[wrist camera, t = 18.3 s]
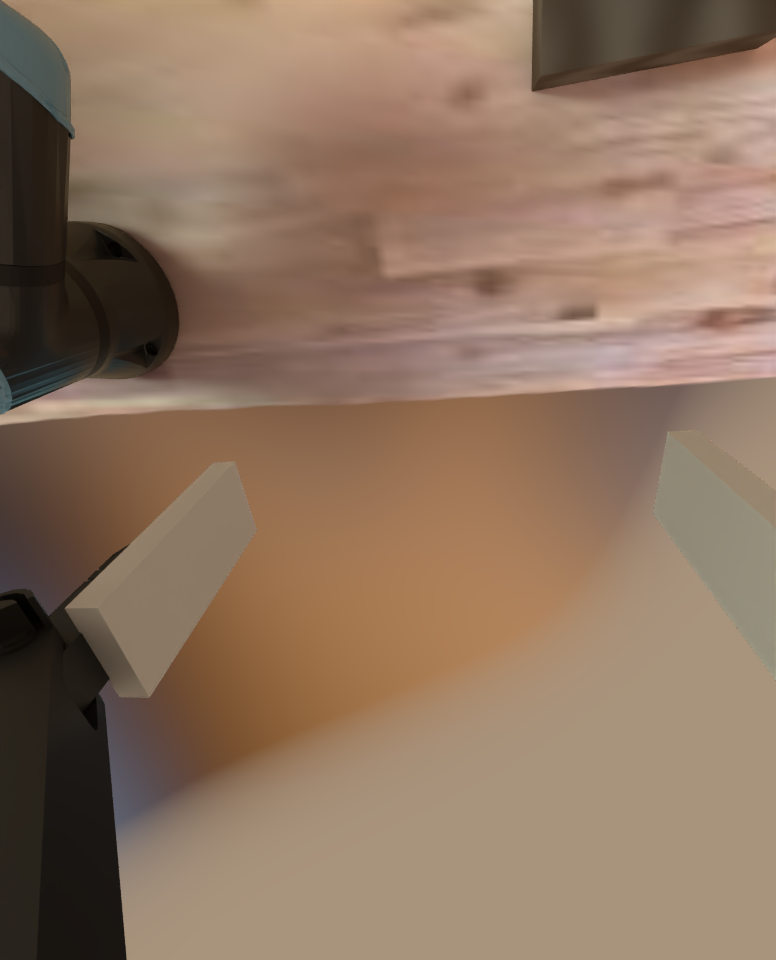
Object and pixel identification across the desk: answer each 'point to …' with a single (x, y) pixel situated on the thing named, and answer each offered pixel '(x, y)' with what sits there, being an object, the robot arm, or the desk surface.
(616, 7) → the stand
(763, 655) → the robot arm
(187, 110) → the desk surface
